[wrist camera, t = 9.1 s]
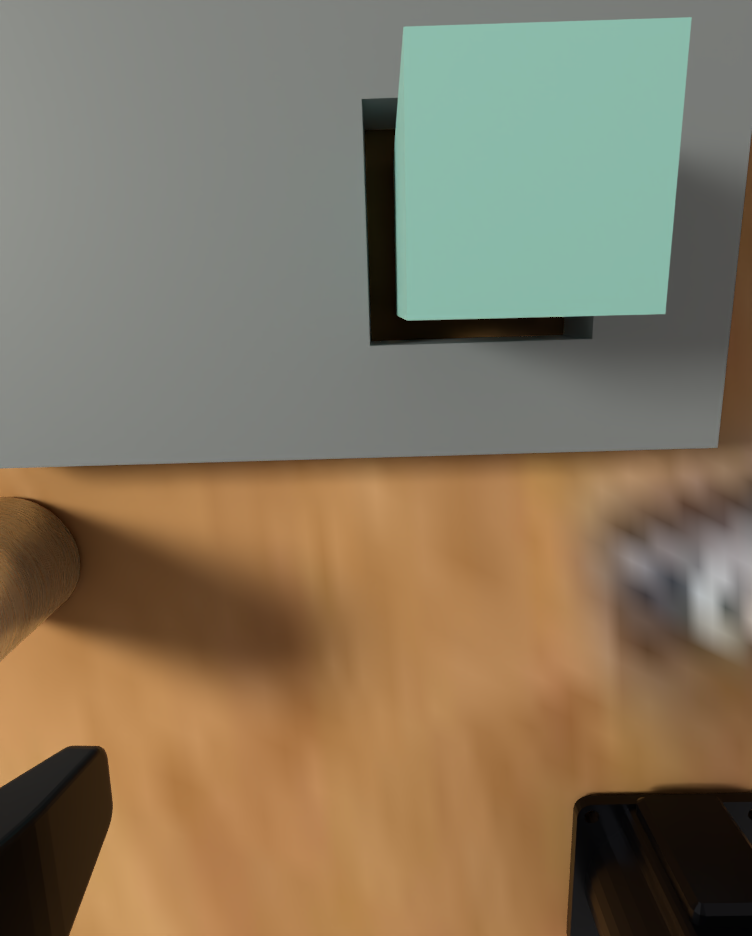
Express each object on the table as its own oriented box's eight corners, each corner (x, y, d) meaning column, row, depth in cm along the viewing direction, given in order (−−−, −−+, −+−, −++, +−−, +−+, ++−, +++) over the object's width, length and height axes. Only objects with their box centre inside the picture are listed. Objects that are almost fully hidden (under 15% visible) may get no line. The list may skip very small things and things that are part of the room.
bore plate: (672, 428, 18) (717, 447, 16) (-6, 448, 18) (-65, 470, 16) (711, -8, 15) (773, -67, 13) (-86, 25, 16) (-171, -28, 13)
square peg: (539, 311, 17) (665, 314, 10) (395, 315, 17) (407, 320, 10) (545, 155, 16) (691, 17, 9) (392, 159, 16) (403, 26, 9)
